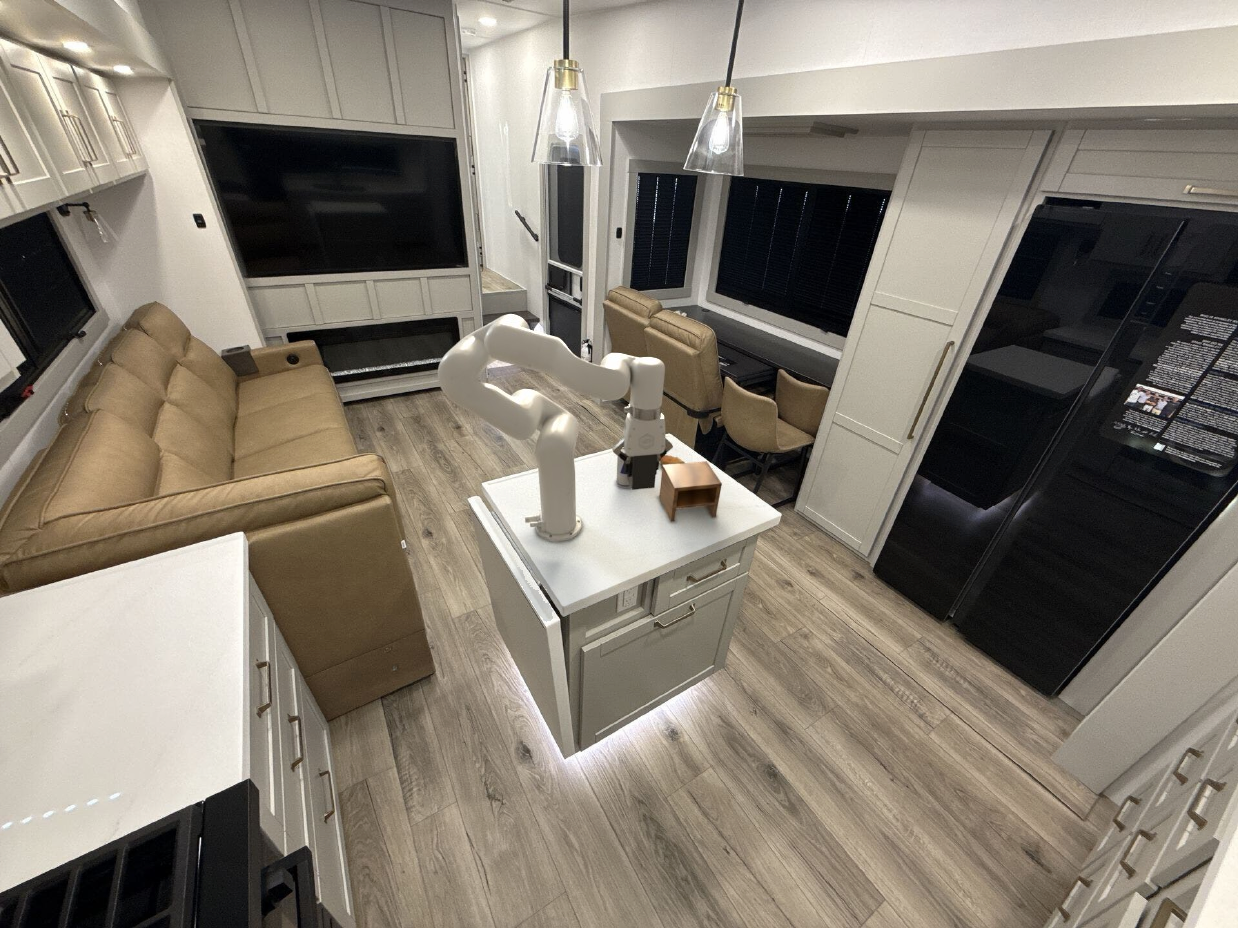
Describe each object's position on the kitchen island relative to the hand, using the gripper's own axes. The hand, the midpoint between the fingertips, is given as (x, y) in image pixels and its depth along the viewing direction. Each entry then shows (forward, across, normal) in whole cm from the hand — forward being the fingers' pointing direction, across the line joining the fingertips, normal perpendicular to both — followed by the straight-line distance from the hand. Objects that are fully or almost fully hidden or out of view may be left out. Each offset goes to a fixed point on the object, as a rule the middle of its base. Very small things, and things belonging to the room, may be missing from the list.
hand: (641, 472), depth 124 cm
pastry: (+20, +20, +31) cm, 42 cm away
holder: (+3, 0, 0) cm, 3 cm away
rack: (+20, +18, +9) cm, 28 cm away
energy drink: (+20, +2, +24) cm, 32 cm away
